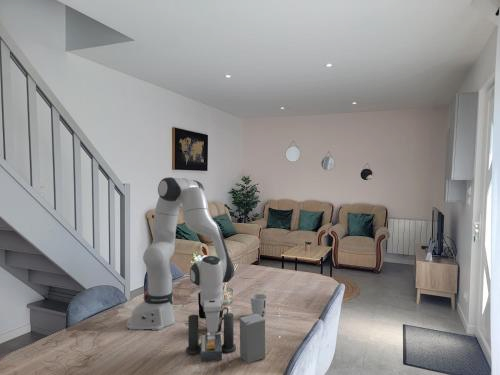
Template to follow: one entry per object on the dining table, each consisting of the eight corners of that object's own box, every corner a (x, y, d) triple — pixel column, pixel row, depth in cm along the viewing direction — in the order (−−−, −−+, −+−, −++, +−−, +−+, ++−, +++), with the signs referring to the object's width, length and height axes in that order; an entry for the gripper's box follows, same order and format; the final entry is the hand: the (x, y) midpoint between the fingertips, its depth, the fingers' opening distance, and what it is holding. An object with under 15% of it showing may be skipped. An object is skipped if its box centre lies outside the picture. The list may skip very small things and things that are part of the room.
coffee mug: (206, 335, 148) (205, 313, 148) (203, 327, 157) (203, 305, 156) (231, 332, 151) (231, 310, 151) (227, 324, 160) (227, 303, 159)
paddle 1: (207, 338, 137) (207, 335, 137) (207, 336, 140) (207, 332, 139) (214, 338, 138) (214, 334, 137) (214, 335, 140) (214, 331, 140)
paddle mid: (207, 343, 133) (207, 339, 133) (207, 340, 136) (207, 336, 136) (215, 343, 134) (215, 339, 134) (214, 340, 136) (214, 336, 136)
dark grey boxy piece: (200, 361, 127) (200, 351, 127) (201, 343, 141) (201, 334, 141) (222, 360, 128) (222, 350, 128) (220, 342, 142) (220, 333, 142)
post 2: (221, 353, 133) (221, 318, 133) (220, 345, 139) (220, 312, 139) (236, 352, 134) (236, 317, 134) (235, 344, 140) (235, 311, 139)
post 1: (185, 355, 131) (185, 320, 131) (186, 347, 137) (186, 314, 137) (201, 354, 132) (200, 319, 132) (201, 346, 138) (201, 313, 138)
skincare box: (257, 350, 135) (257, 312, 135) (266, 359, 129) (266, 318, 128) (238, 356, 131) (238, 316, 131) (247, 365, 125) (247, 323, 124)
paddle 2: (207, 349, 129) (206, 345, 129) (207, 346, 132) (206, 342, 132) (215, 347, 130) (214, 343, 129) (214, 344, 132) (213, 340, 132)
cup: (265, 320, 164) (265, 300, 163) (249, 319, 165) (249, 298, 165) (268, 313, 172) (268, 294, 171) (252, 312, 173) (252, 293, 173)
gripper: (203, 290, 142) (204, 322, 142) (203, 309, 121) (204, 347, 122) (218, 289, 142) (219, 321, 143) (221, 308, 122) (221, 345, 123)
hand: (212, 333), depth 132 cm, fingers closed
